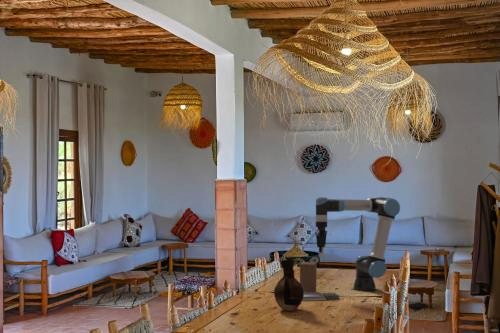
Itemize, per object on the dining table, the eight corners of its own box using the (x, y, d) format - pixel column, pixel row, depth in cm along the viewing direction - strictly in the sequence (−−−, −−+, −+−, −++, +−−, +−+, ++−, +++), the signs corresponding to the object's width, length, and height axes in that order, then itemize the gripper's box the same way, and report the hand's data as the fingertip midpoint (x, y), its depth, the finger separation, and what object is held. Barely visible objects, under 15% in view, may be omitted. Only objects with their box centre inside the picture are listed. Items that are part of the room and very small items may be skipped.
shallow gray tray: (320, 295, 452) (320, 292, 452) (325, 300, 438) (325, 296, 438) (296, 296, 450) (296, 292, 450) (301, 300, 436) (301, 296, 436)
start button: (333, 296, 447) (333, 292, 447) (334, 297, 443) (334, 293, 443) (327, 296, 446) (327, 292, 446) (328, 297, 442) (328, 293, 442)
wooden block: (314, 294, 455) (315, 264, 455) (299, 294, 457) (299, 264, 457) (316, 292, 465) (316, 262, 465) (301, 291, 467) (301, 261, 467)
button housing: (335, 296, 449) (335, 293, 449) (338, 299, 441) (338, 295, 441) (323, 296, 448) (323, 293, 448) (326, 299, 440) (326, 295, 440)
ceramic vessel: (301, 314, 396) (302, 262, 396) (271, 313, 399) (271, 261, 399) (305, 306, 417) (305, 257, 417) (276, 305, 420) (276, 256, 420)
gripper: (320, 220, 459) (320, 255, 459) (311, 221, 448) (311, 257, 448) (331, 220, 455) (330, 256, 455) (322, 222, 444) (321, 258, 444)
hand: (321, 257), depth 451 cm, fingers closed
